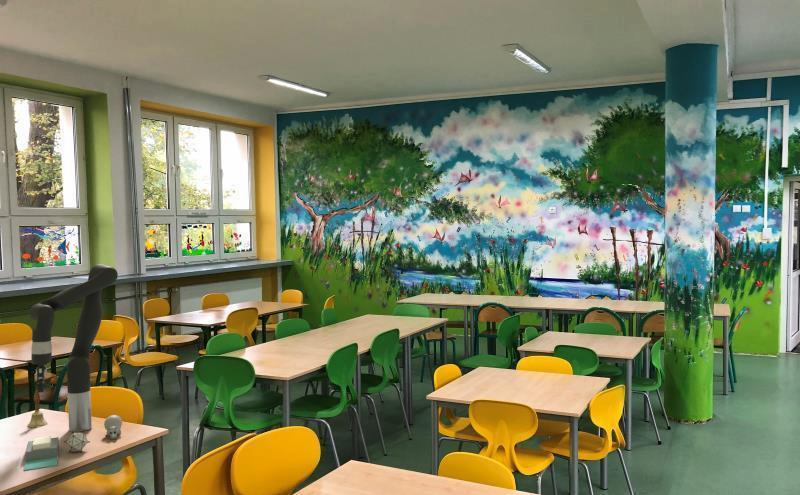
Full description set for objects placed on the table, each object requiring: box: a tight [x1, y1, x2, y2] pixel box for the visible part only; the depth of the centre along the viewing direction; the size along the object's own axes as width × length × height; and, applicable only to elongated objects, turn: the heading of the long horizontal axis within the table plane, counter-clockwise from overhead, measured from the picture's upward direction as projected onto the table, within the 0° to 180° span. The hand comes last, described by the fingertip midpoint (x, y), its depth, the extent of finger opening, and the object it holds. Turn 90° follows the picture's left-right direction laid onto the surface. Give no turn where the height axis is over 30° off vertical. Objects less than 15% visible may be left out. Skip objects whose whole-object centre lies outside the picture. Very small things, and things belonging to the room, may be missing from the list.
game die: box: [63, 430, 91, 454], centre depth 266 cm, size 9×8×10 cm
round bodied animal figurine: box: [103, 414, 123, 440], centre depth 285 cm, size 7×12×8 cm, turn 20°
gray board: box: [24, 436, 60, 462], centre depth 264 cm, size 11×14×4 cm
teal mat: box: [23, 457, 58, 472], centre depth 253 cm, size 11×10×1 cm
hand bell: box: [27, 389, 49, 428], centre depth 303 cm, size 8×8×16 cm
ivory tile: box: [33, 435, 52, 450], centre depth 263 cm, size 6×9×2 cm, turn 26°
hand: (41, 389), depth 277 cm, fingers open, 8 cm apart
